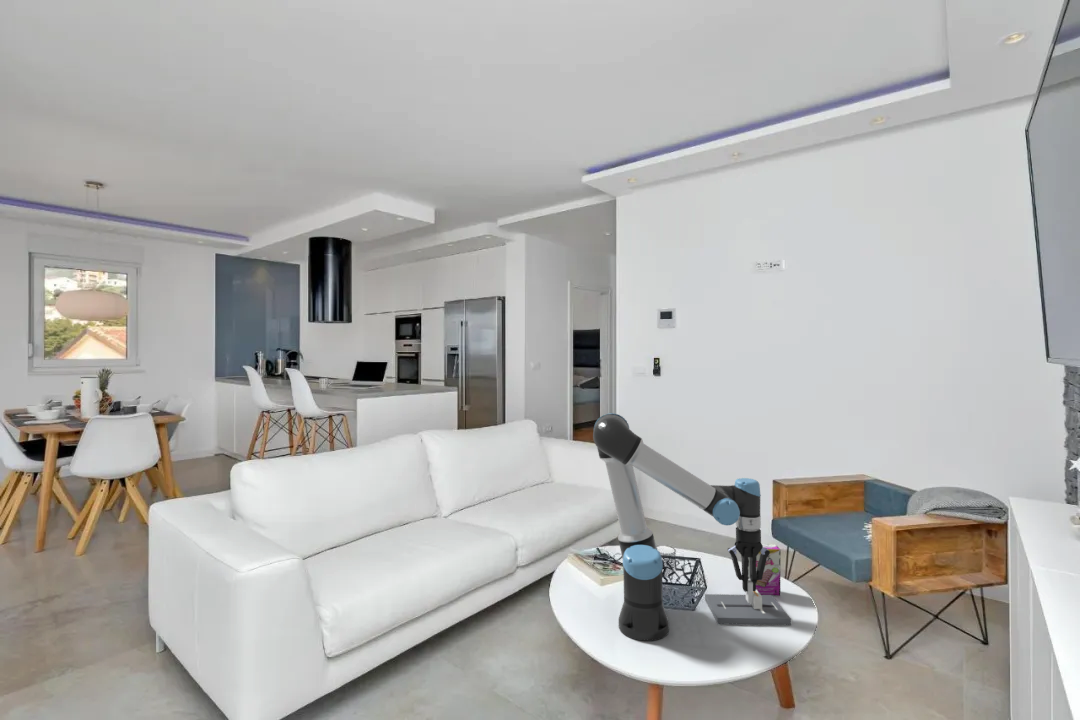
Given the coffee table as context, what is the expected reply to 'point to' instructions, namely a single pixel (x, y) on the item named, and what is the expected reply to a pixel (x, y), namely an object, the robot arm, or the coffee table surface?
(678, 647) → the coffee table surface
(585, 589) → the coffee table surface
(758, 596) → the fader cap
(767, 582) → the candy bar box
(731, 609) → the console
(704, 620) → the coffee table surface
